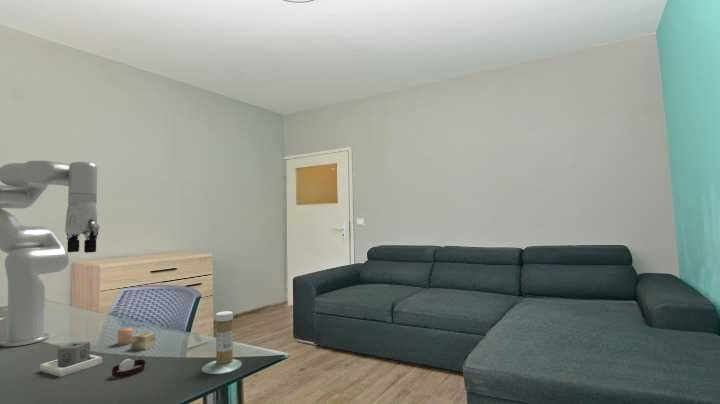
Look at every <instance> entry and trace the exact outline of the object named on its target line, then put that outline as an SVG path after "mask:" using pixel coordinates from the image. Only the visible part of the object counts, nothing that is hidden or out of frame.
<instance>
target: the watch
mask: <svg viewBox="0 0 720 404" xmlns="http://www.w3.org/2000/svg"><path fill="white" fill-rule="evenodd" d="M137 366H138V367H137ZM145 366H146V360H144V359H135V360H133V359H130V358H126V359H124V360H122V362H121V363H119V364H118V365H115V366H113V367H112V368H111V377H114V378H117V379H118V378H124V377H129V376H132V375H136V374H138V373H140V372H143V370H145ZM133 367H135V368H133Z"/></svg>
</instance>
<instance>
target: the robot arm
mask: <svg viewBox="0 0 720 404" xmlns="http://www.w3.org/2000/svg"><path fill="white" fill-rule="evenodd" d="M0 183H2V184H0V251H1V252H3V253H4V254H7V255H6V256H5V259H4V267H5V268H4V269H5V273H6V277H7V318H6V338H3V339H2V340H0V346H1V347H5V348H6V347H18V346H25V345H30V344H35V343H39V342H42V341H45V340H47V339H49V338H50V332H46V331H45V303H46V302H45V300H46V297H45V295H46V293H45V292H46V288H45V284H44V283H43V281H42V280H41V278H40V277H39V276H38V275H45V274H46V275H47V274H53V273H58V272H62V271H63V270H65V269H66V268H67V267H68V265H69V261H70V258H69V254H68V253H78V252H80V239H79V238H80V235H84V238H85V239H84V242H83V243H84V250H83V251H84V253H86V254H87V253H96V251H97V240H98V235H99V230H100V225H99V224H98V215H97V214H98V213H97V206H96V205H97V202H98V201H97V200H98V199H97V198H98V194H97V193H98V190H97V189H98V166H97V164H96V163H92V162H87V161H74V162H71V163H66V162H60V161H50V160H28V161H26V162H14V163H13V162H10V163H7V164H4V165H2V166H0ZM49 185H51V186H52V185H53V186H64V187H68V192H67V193H68V197H67V198H68V199H67V201H68V202H67V204H68V206H67V208H66V216H65V227H64V232H65V235H66V236H67V237H66V240H67V250H66V249H65V247H64V245H63V244H62V243H61V241H60V240H59V238H57V236H56V235H55V233H54V232H53V231H52V230H51V229H49V228H48V227H45V226H24V225H22V224H21V223H20V222H19V219H17V217H15V216H14V215H13V214H12V213H10V212H8V211H7V210H5V209H19V210H20V209H27V208H29V207H32V205H33V204H35V202H36V201H37V200H38V198H39V197H40V196H41V195H42V194H43V192H45V190H46V189H47V187H48V186H49Z"/></svg>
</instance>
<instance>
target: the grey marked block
mask: <svg viewBox="0 0 720 404" xmlns="http://www.w3.org/2000/svg"><path fill="white" fill-rule="evenodd" d="M90 354H91V342H90V341H81V342H80V341H79V342H70V343H68V344H65V345H63V346H60V347H58V348H57V359H58V367H68V366H71V365H74V364H78V363H81V362H84V361H87V360H90Z"/></svg>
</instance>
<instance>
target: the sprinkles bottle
mask: <svg viewBox="0 0 720 404" xmlns="http://www.w3.org/2000/svg"><path fill="white" fill-rule="evenodd" d="M233 319H234V313H233V311H230V310H225V311H219V312H216V313H215V322H216V325H215V327H216V328H215V329H216V330H215V335H216V336H215V338H216V339H215V345H216V346H215V350H216V353H215V354H216V359H215V362H216V363H217V364H225V365H226V364H228V363H231V362H232V361H233V360H234V357H233V353H234V352H233V349H234V348H233V347H234V346H233V345H234V343H233V341H234V340H233V339H234V338H233V337H234V336H233Z"/></svg>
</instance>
